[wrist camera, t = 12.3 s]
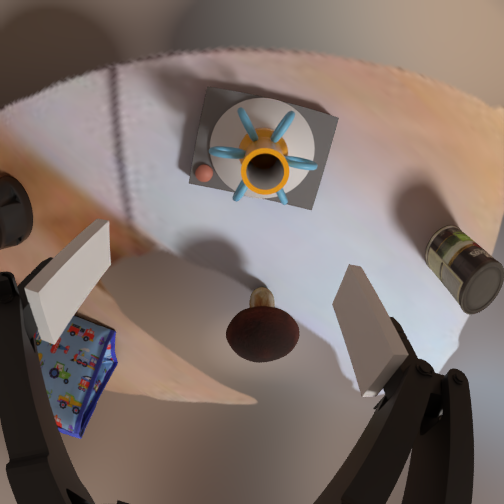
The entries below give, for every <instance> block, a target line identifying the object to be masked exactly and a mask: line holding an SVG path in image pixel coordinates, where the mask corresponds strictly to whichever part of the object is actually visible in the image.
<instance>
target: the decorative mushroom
mask: <svg viewBox="0 0 504 504" xmlns="http://www.w3.org/2000/svg"><path fill="white" fill-rule="evenodd" d="M226 338H227V340H228V343H229V345H230V346H231V348H232V349H233V350H234V351H235V352H236V353H237V354H238V355H239V356H240V357H242V358H244V359H246V360H249V361H253V362H268V361H273V360H276V359H279V358H281V357H284V356H286V355H287V354H288V353H289V352H291V351H292V350H293V348H294V347H295V345H296V344H297V342H298V339H299V327H298V325H297V323H296V321H295V320H294V319H293V318H292V317H291V316H290V315H289V314H288V313H287V312H285V311H283V310H281V309H278V308H275V307H274V297H273V294H272V293H271V291H270V290H268V289H266V288H264V287H260V288H257V289H256V290H254V291H253V292H252V294H251V297H250V308H248V309H245V310H242V311H240V312H239V313H238V314H237V315H236V316H235V317H234V318H233V319H232V321H231V322H230V324H229V326H228V328H227V331H226Z"/></svg>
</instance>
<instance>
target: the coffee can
mask: <svg viewBox="0 0 504 504" xmlns="http://www.w3.org/2000/svg"><path fill="white" fill-rule="evenodd" d="M425 258H426V263H427V265H428V267H429V268H430V269H431V270H432V271H433V272H434V273H435V275H436V276H437V277H438V278H439V279H440V281H441V282H442V283H443V284H444V286H445V287H446V288H447V289H448V291H449V292H450V293H451V294H452V296H453V297H454V298H455V300H456V301H457V302H458V303H459V305H460V306H461V308H462V310H463V311H464V312H465V313H466V314H476V313H478V312H480V311H482V310H484V309H485V308H486V307H487V306H489V305H490V303H492V301H493V300H494V299H495V298H496V296H497V295H498V293H499V291H500V289H501V287H502V284H503V281H504V268H503V266H502V264H501V263H499V262H498V261H496V260H495V259H494V258H493V257H492V256H491V255H490V254H488V253H487V252H486V251H485V250H484V249H483V248H481V247H480V246H479V245H478V244H477V243H476V242H474V241H473V240H472V239H471V238H470V237H468V236H467V235H466V234H465V233H463V232H462V231H461V230H460V229H459V228H458V227H456V226H446V227H444V228H442V229H440V230H439V231H437V232H436V233H435V234H434V235H433V237H432V238H431V240H430V241H429V243H428V246H427V249H426V254H425Z"/></svg>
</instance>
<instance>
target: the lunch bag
mask: <svg viewBox="0 0 504 504" xmlns="http://www.w3.org/2000/svg"><path fill="white" fill-rule="evenodd" d="M115 335H116V331H114V330H111V329H108V328H105V327H102V326H100V325H97V324H94V323H92V322H89V321H87V320H84V319H81V318H79V317H76V316H73V317H72V319H71V320H70V322H69V323H68V325H67V326H66V328H65V329H64V331H63V332H62V334H61V336H60V337H59V339H58V340H57V342H56V343H55V345H54V344H51V343H49V342H46V341H44V340H41V337H40V335H39V332H38V330H37V331H36V333H35V334H34V338H35V340H36V345H37V351H38V356H39V361H40V366H41V370H42V375H43V379H44V383H45V387H46V391H47V394H48V398H49V402H50V405H51V408H52V412H53V415H54V418H55V421H56V424H57V427H58V430H59V432H61V433H63V434H68V435H70V436H73V437H77V438H80V439H81V438H82V436H83V434H84V431H85V428H86V426H87V424H88V422H89V420H90V417H91V415H92V413H93V411H94V409H95V407H96V404H97V401H98V399H99V397H100V395H101V393H102V391H103V390H104V388H105V386H106V384H107V382H108V381H109V379H110V377H111V375H112V373H113V371H114V369H115V368H116V366H117V363H118V362H117V358H116V354H115Z"/></svg>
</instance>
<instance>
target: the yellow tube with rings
mask: <svg viewBox="0 0 504 504" xmlns="http://www.w3.org/2000/svg"><path fill="white" fill-rule="evenodd" d="M237 112H238V115H239V117H240V120H241V122H242V124H243V126H244V128H245V130H246V132H247V134H246V135H245V136H244V138H243V139H242V141H241V143H240V145H239V148H233V147H224V146H215V147H211V148H210V149H209V153H210V154H211V155H213V156H216V157H221V158H229V159H239V160H240V163H241V165H242V166H241V177H242V180H241V182H240V184H239V185H238V187H237V189H236V191H235V193H234V195H233V200H234V201H239V200H240V199H241V198H242V196H243V195H244V193H245V192H246V190H247V189H248V188H249V189H250V190H251V191H253V192H255V193H258V194H262V195H269V194H273V193H277V196H278V198H279V200H280V201H281V203H282V204H283V205H286V204H287V203H288V199H287V197H286V194H285V192H284V190H283V187H284V186H285V184H286V183H287V181H288V178H289V167H293V168H297V169H303V170H316V169H317V167H318V165H317V163H315V162H314V161H311V160H308V159H305V158H300V157H295V156H288V147H287V144H286V142H285V140H284V139H283V138H282V136H283V135H284V133H285V132H286V131H287V129H288V128H289V126H290V125H291V123H292V121H293V119H294V117H295V112H294V111H289V112H288V113H287V114H286V115H285V116H284V117H283V119H282V120H281V121H280V123H279V124H278V126H277V127H276V129H275V130H273V129H270V128H265V127H260V128H256V129H254V127H253V125H252V123H251V121H250V119H249V117H248V115H247V113H246V111H245V110H244V108H242V107H240V108H238V110H237Z"/></svg>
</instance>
